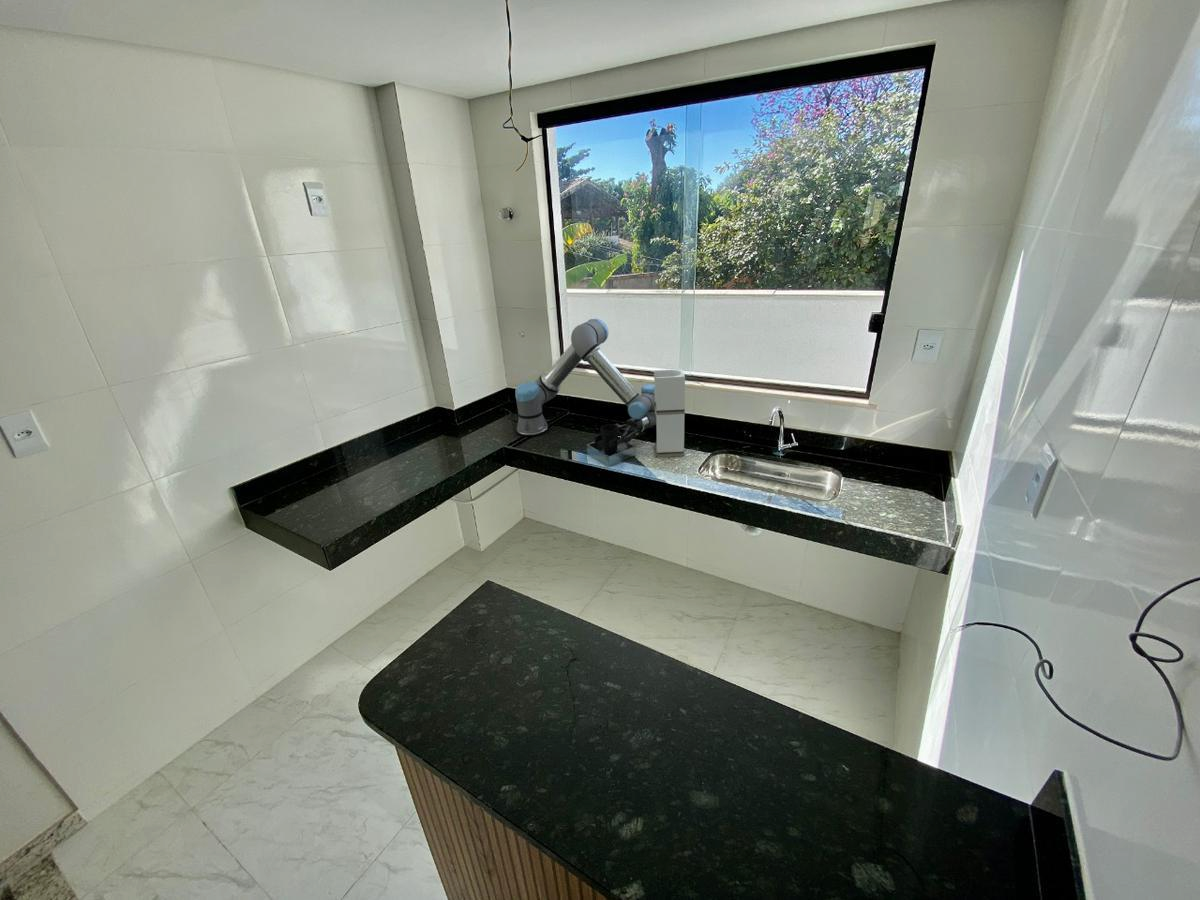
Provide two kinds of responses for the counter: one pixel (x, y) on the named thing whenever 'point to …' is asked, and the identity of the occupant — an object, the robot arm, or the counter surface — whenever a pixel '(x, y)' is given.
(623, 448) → the translucent shallow box
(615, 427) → the cup
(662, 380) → the grey square pillar
